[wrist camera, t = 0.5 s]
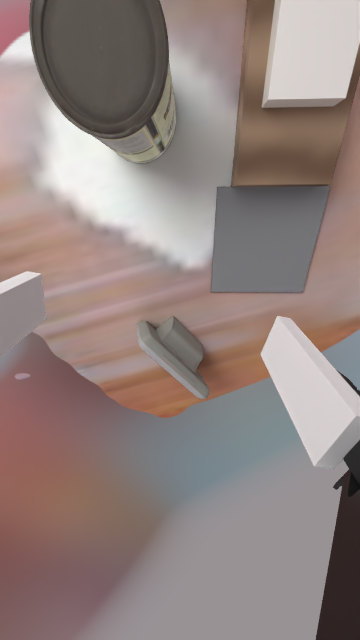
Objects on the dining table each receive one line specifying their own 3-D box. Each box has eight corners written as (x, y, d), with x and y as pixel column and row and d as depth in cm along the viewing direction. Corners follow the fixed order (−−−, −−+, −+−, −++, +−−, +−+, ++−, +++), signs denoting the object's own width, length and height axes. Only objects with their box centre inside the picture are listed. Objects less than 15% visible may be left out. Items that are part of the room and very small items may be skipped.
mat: (217, 187, 32) (217, 187, 32) (329, 186, 32) (330, 186, 31) (210, 291, 40) (211, 291, 39) (301, 291, 39) (302, 292, 39)
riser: (248, -7, 24) (258, -44, 20) (361, -11, 24) (392, -49, 20) (231, 187, 32) (236, 184, 29) (314, 186, 32) (330, 184, 28)
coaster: (275, -2, 21) (284, -23, 19) (359, -5, 21) (376, -26, 19) (261, 107, 25) (267, 99, 23) (333, 106, 25) (345, 98, 23)
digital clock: (133, 319, 43) (118, 352, 34) (173, 298, 41) (169, 327, 31) (175, 376, 49) (173, 416, 40) (212, 360, 47) (218, 399, 38)
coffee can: (86, 71, 27) (-1, -43, 15) (168, 51, 26) (151, -91, 14) (111, 171, 32) (62, 148, 19) (182, 156, 31) (178, 123, 18)
